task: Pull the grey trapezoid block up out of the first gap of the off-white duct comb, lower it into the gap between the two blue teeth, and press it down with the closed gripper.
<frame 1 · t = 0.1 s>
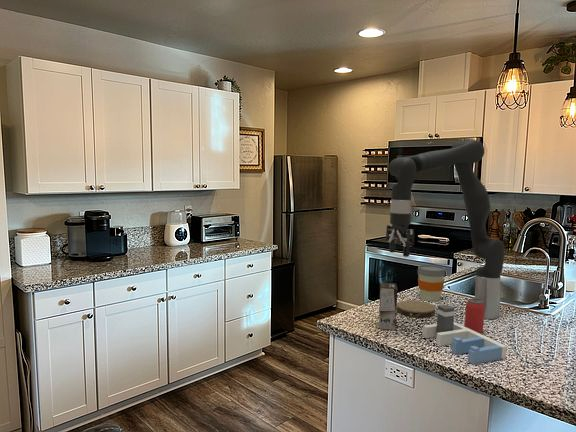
hand: (399, 254, 161), 29 cm above the countertop, tool pointing down, fingers open, 8 cm apart
ringed wooden coaster: (415, 313, 185), on the countertop
coffee box: (387, 326, 168), on the countertop
beer can: (473, 331, 163), on the countertop
grey trapezoid block: (444, 338, 155), resting in duct comb
reusable coffee cup: (430, 298, 204), on the countertop
duct comb: (459, 346, 148), on the countertop
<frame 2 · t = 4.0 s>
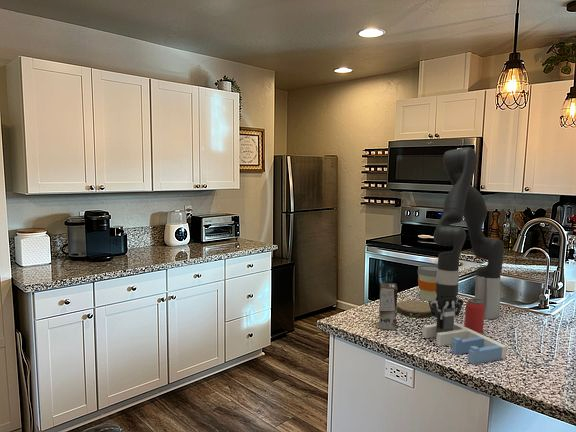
hand: (445, 327, 154), 4 cm above the countertop, tool pointing down, fingers closed on grey trapezoid block, 4 cm apart
grey trapezoid block: (444, 338, 155), resting in duct comb, touching gripper
everything else where it was.
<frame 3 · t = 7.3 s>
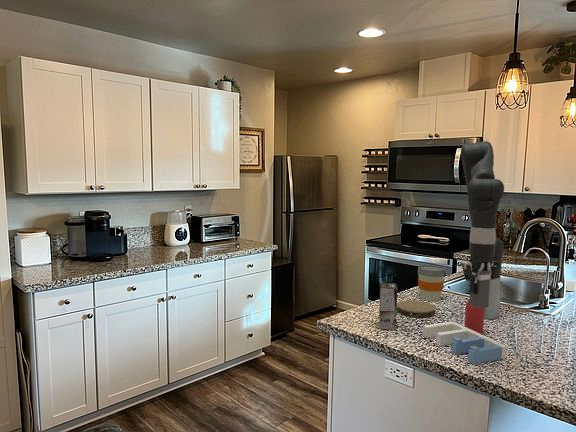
hand: (479, 293, 139), 21 cm above the countertop, tool pointing down, fingers closed on grey trapezoid block, 4 cm apart
grey trapezoid block: (478, 305, 139), point 17 cm above the countertop, touching gripper
everything else where it was.
when the fingers open (6 cm above the countertop, at t = 10.7 s): grey trapezoid block drops 1 cm, resting in duct comb.
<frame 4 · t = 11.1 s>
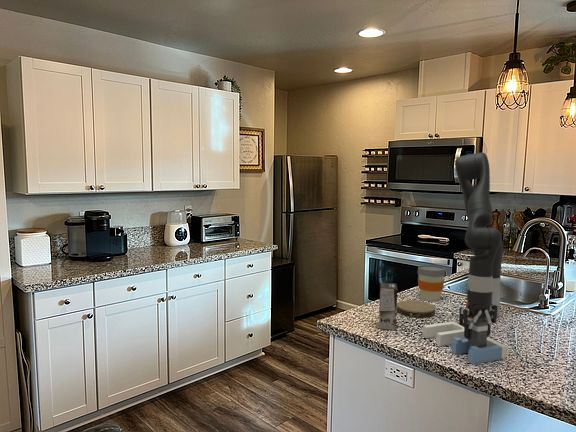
hand: (477, 337, 140), 6 cm above the countertop, tool pointing down, fingers open, 7 cm apart
grey trapezoid block: (476, 355, 141), resting in duct comb
everything else where it was.
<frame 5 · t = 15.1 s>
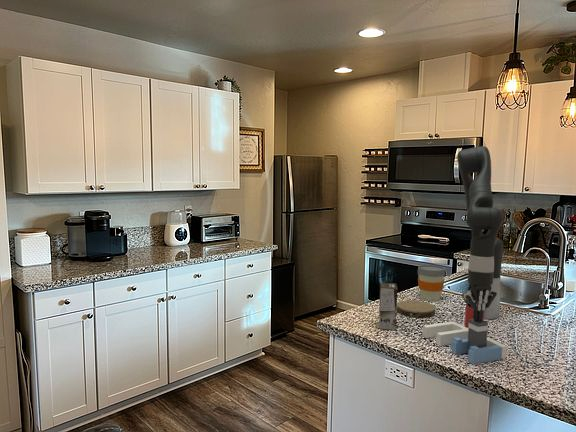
hand: (477, 320, 140), 12 cm above the countertop, tool pointing down, fingers closed
grey trapezoid block: (476, 355, 141), resting in duct comb, touching gripper
everything else where it was.
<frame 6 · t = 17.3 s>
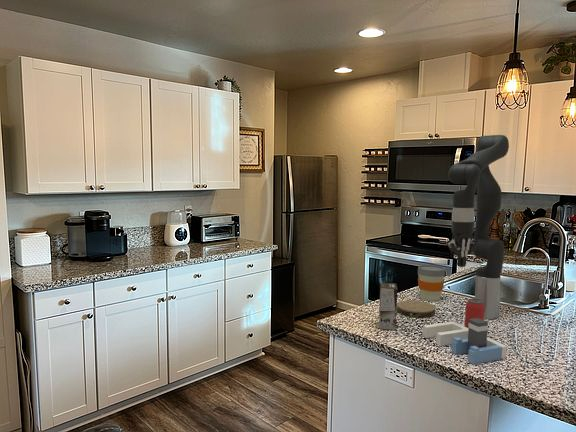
hand: (461, 266, 156), 26 cm above the countertop, tool pointing down, fingers closed
grey trapezoid block: (476, 355, 141), resting in duct comb
everything else where it was.
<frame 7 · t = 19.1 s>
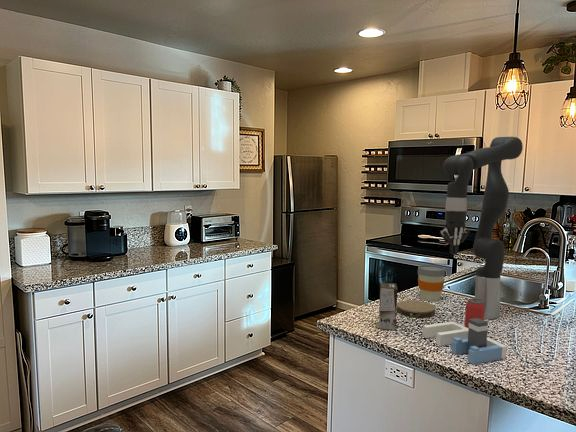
hand: (453, 254, 163), 29 cm above the countertop, tool pointing down, fingers closed
nothing on the countertop moved.
at the end: grey trapezoid block 0.2 cm from the target spot on the duct comb, point 0.0 cm above the duct comb's base; grey trapezoid block tilted 0°; the gripper is holding nothing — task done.
